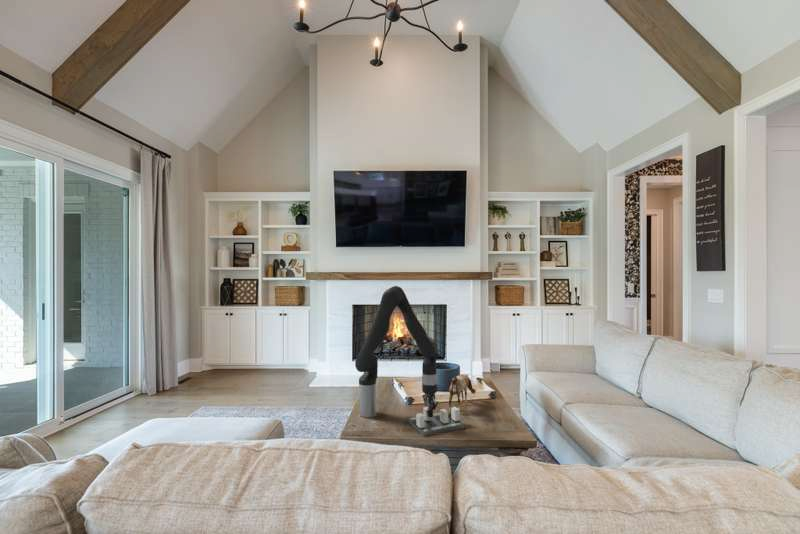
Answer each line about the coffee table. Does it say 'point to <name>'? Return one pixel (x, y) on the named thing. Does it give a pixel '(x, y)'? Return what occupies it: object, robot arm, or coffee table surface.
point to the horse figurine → (460, 389)
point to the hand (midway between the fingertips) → (430, 416)
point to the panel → (436, 425)
